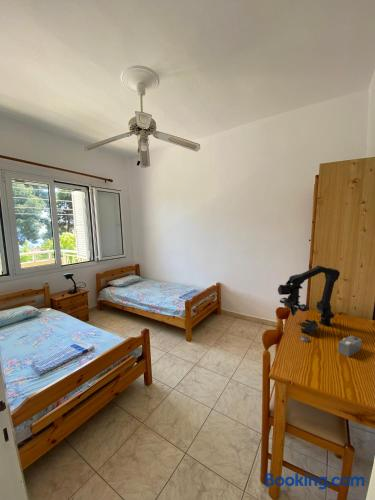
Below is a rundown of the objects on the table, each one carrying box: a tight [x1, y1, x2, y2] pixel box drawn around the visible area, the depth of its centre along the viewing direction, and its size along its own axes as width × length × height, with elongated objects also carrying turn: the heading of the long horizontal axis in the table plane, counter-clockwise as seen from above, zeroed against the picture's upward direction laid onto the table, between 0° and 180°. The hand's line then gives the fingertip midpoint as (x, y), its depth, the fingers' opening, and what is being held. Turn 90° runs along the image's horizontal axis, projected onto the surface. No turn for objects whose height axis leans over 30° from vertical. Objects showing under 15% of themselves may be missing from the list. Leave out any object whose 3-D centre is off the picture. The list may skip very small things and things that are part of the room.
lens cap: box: [299, 335, 311, 343], centre depth 125 cm, size 5×5×1 cm
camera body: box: [337, 335, 362, 358], centre depth 114 cm, size 13×6×7 cm, turn 118°
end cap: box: [300, 319, 319, 336], centre depth 133 cm, size 10×7×7 cm
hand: (293, 315), depth 143 cm, fingers closed
